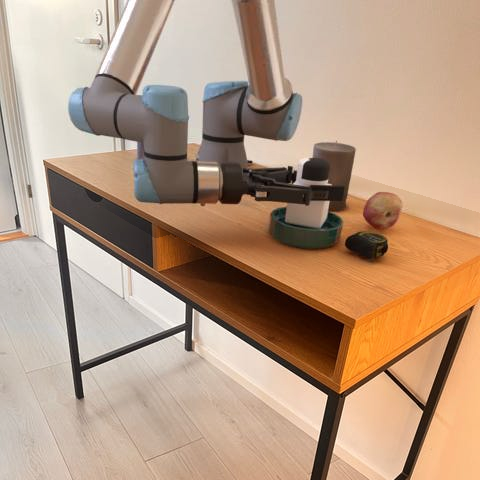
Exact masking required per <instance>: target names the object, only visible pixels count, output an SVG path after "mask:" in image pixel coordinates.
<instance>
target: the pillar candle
mask: <svg viewBox="0 0 480 480" xmlns="http://www.w3.org/2000/svg"><path fill="white" fill-rule="evenodd" d="M356 149H357V148H356V146H353V145H351V144H345V143H341V142H338V140H335V142H334V141H333V142H332V141H329V142H328V141H326V142H325V141H323V142H316V143H314V144H313V150H312V157H313V158H320V159H324V160H326V161H327V162H329V163H330V165H331V166H330V172H329V178H328V183H327V184H331V185H342V186H345V188H344V194H343V199H342V201H330V202H329V208H328V211H329V212H333V211H334V212H336V211H342V210H345V208H347V206H346V205H347V199H348V196H349V195H348V194H349V189H350V182H351V178H352V171H353V167H354V161H355V157H356Z"/></svg>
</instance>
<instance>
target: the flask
mask: <svg viewBox="0 0 480 480" xmlns="http://www.w3.org/2000/svg"><path fill="white" fill-rule="evenodd" d="M136 149H137V151H136V152H137V154H136V155H137V160H138V159H142V158H144V143H142V142H136Z"/></svg>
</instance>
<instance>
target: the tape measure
mask: <svg viewBox="0 0 480 480" xmlns="http://www.w3.org/2000/svg"><path fill="white" fill-rule="evenodd" d="M388 243H389V242H388V238H387V237H386V236H385V235H383V234H381V233H378V232H375V231H369V230H368V231H367V230H362V231H356V232H354V233H353V234H350V235H348V236H347V237H346V238H345V241H344V247H345V248H346V249H347V250H348V251H350V252H352V253H353V254H356V255H358V256H359V257H361V258H362V257H363V258H364V259H367V260H369V261H372V260H375V259H379V258H380V259H381V258H382V257H384V256H385V254H386V253H388V250H389V244H388Z"/></svg>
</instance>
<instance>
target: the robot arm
mask: <svg viewBox="0 0 480 480" xmlns="http://www.w3.org/2000/svg"><path fill="white" fill-rule="evenodd" d="M230 1H231V5H232V10H233V15H234V20H235V25H236V28H237V33H238V38H239V43H240V49H241V52H242V57H243V61H244V66H245V71H246V77H247V80H226V81H214V82H208V83H207V84H206V85H205V86H204V89H203V98H202V130H201V131H202V133H201V135H202V136H201V138H202V139H201V142H200V145H199V149H198V151H197V153H196V154H195V160H188V141H189V140H188V139H189V120H190V116H189V101H188V99H189V98H188V93H187V91H186V90H185V89H184V88H182V87H180V86H175V85H167V84H166V85H165V84H147V85H145V86H144V87H143V88H142V94H137V93H138V91H139V88H140V86H141V84H142V82H143V79H144V76H145V75H146V72H147V69H148V67H149V64H150V62H151V60H152V58H153V55H154V53H155V50H156V47H157V45H158V43H159V40H160V38H161V36H162V33H163V31H164V28H165V26H166V23H167V21H168V18H169V17H170V15H171V11H172V9H173V6H174V5H175V2H176V0H127V1H126V3H125V6H124V7H123V10H122V12H121V14H120V16H119V19H118V21H117V24H116V26H115V28H114V31H113V34H112V36H111V38H110V41H109V43H108V45H107V48H106V50H105V52H104V55H103V57H102V59H101V61H100V64H99V67H98V69H97V71H96V74H95V76H94V78H93V80H92V82H91V85H90V87H89V86H85V87H77V88H76V89H75V90H74V91H72V93H71V94H70V96H69V98H68V104H67V111H68V112H67V113H68V116H69V119H70V121H71V123H72V125H73V126H74V127H75V128H76V129H77V130H79V131H80V132H83V133H87V134H91V135H95V136H98V137H99V136H104V137H109V138H116V139H122V140H126V141H131V142H136V143H137V142H142V143H144V158H142V159H138V158H137V159H135V160H134V161H133V191H134V193H133V194H134V197H135V199H136V201H138V202H140V203H145V204H146V203H148V204H159V205H165V204H171V205H173V204H194V205H195V204H200V205H199V206H201V207H205V206H206V204H208V205H209V204H211V205H216V204H218V202H219V203H220V204H221V205H239V204H240V203H241V201H242V199H243V198H242V197H243V196H244V195H246V196H250V197H251V198H254V201H255V202H273V203H284V204H287V203H294V204H304V205H305V206H309V204H310V201H342V199H343V194H344V188H345V186H342V185H310V187H309V186H301V185H294V184H293V183H294V182H295V181H296V177H297V170H295V169H294V166H292V165H287V167H286V166H282V167H261V168H249V165H250V164H253V163H254V161H253V160H251V159H250V160H249V159H248V158H247V153H246V147H245V136H249V137H253V138H259V139H264V140H270V141H275V142H278V141H279V142H280V141H281V142H287V141H290V140H291V139H292V138H293V137H294V135H295V134H296V132H297V129H298V126H299V122H300V118H301V115H302V110H303V109H302V108H303V96H302V94H301V93H300V94H299V93H298V92H295V93H294V92H293V85H292V83H291V82H290V80H289V78H287V77H286V76H285V71H284V63H283V55H282V49H281V48H282V47H281V41H280V33H279V25H278V19H277V18H278V17H277V10H276V4H275V3H276V2H275V0H230ZM303 195H304V197H303Z"/></svg>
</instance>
